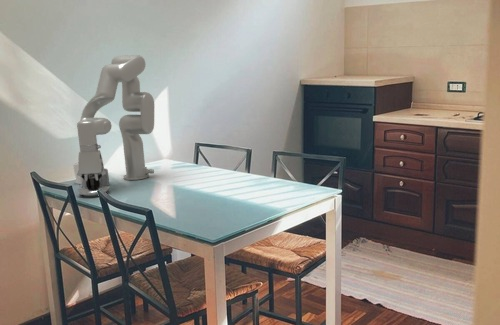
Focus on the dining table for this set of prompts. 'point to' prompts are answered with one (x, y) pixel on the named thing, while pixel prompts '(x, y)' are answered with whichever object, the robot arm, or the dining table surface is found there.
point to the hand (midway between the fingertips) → (93, 188)
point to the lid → (92, 189)
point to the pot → (103, 180)
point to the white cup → (76, 168)
